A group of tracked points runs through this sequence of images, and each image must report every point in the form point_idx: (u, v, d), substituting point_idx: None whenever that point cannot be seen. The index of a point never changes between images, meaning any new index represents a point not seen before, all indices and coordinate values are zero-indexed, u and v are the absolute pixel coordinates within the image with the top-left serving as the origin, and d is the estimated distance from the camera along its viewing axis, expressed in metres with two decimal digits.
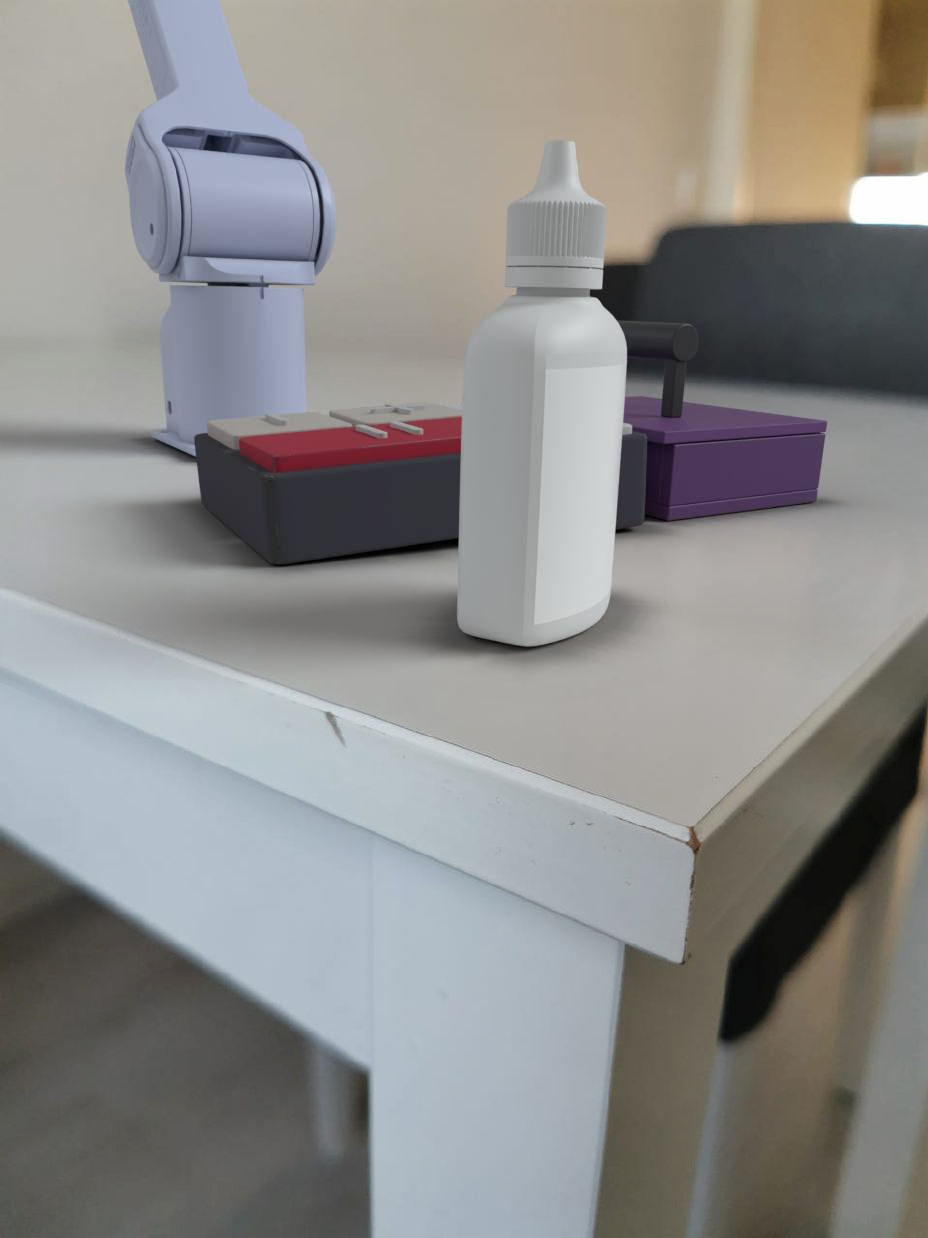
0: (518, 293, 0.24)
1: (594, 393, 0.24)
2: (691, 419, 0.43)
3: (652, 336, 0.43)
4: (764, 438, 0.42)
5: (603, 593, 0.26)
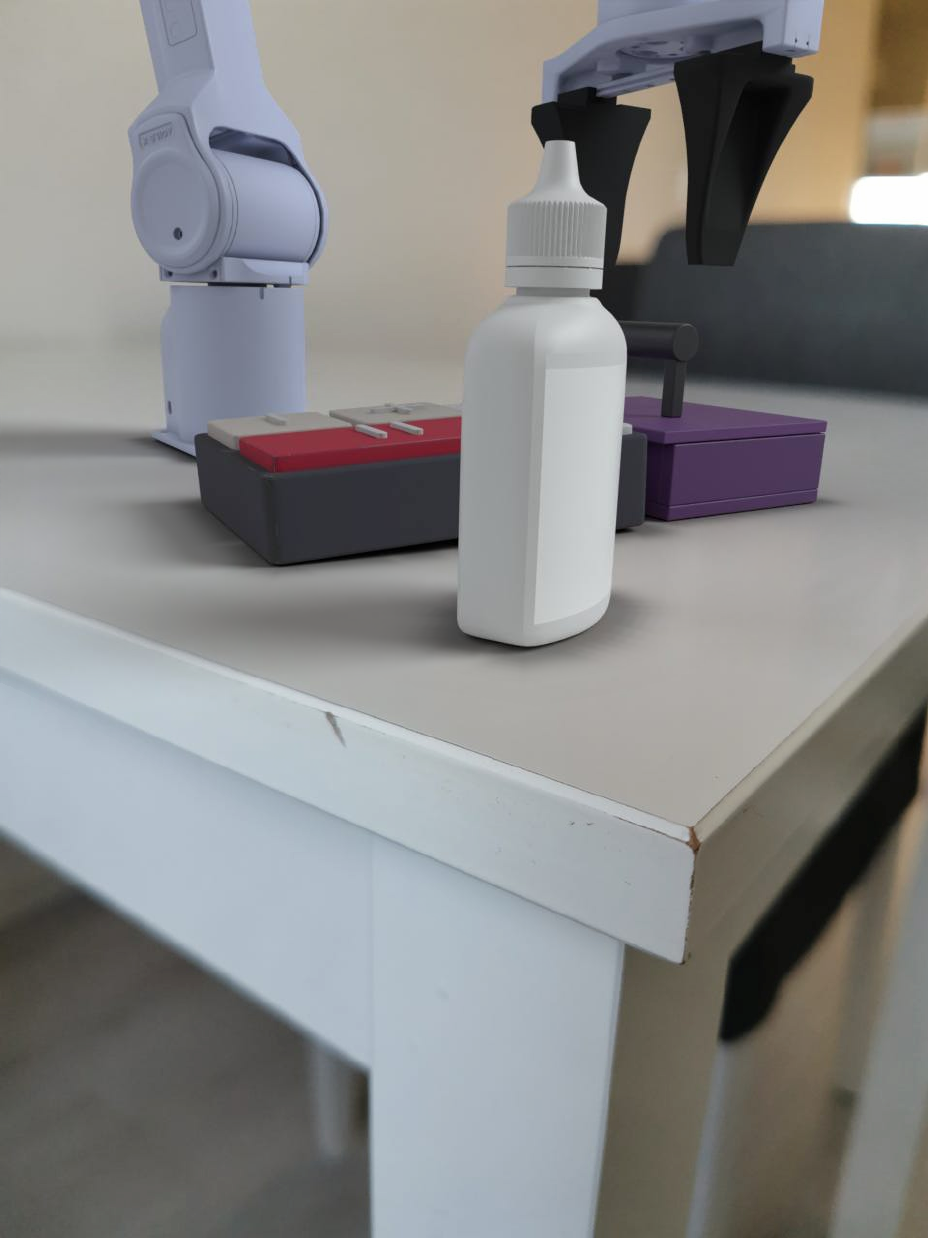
0: (518, 293, 0.24)
1: (594, 393, 0.24)
2: (691, 419, 0.43)
3: (652, 336, 0.43)
4: (764, 438, 0.42)
5: (603, 593, 0.26)
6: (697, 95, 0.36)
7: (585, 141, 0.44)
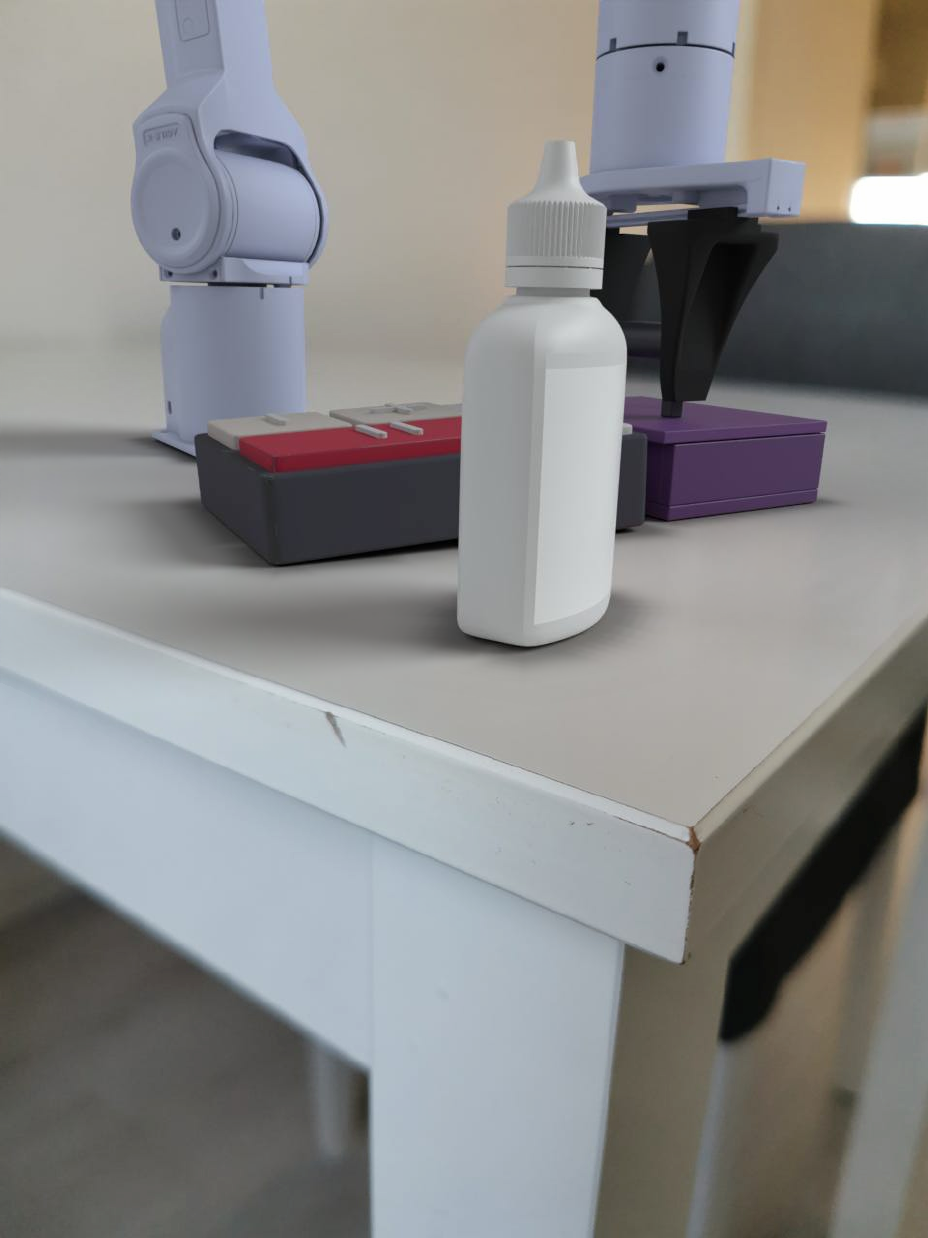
0: (518, 293, 0.24)
1: (594, 393, 0.24)
2: (691, 419, 0.43)
3: (652, 335, 0.43)
4: (764, 438, 0.42)
5: (603, 593, 0.26)
6: (669, 254, 0.39)
7: None
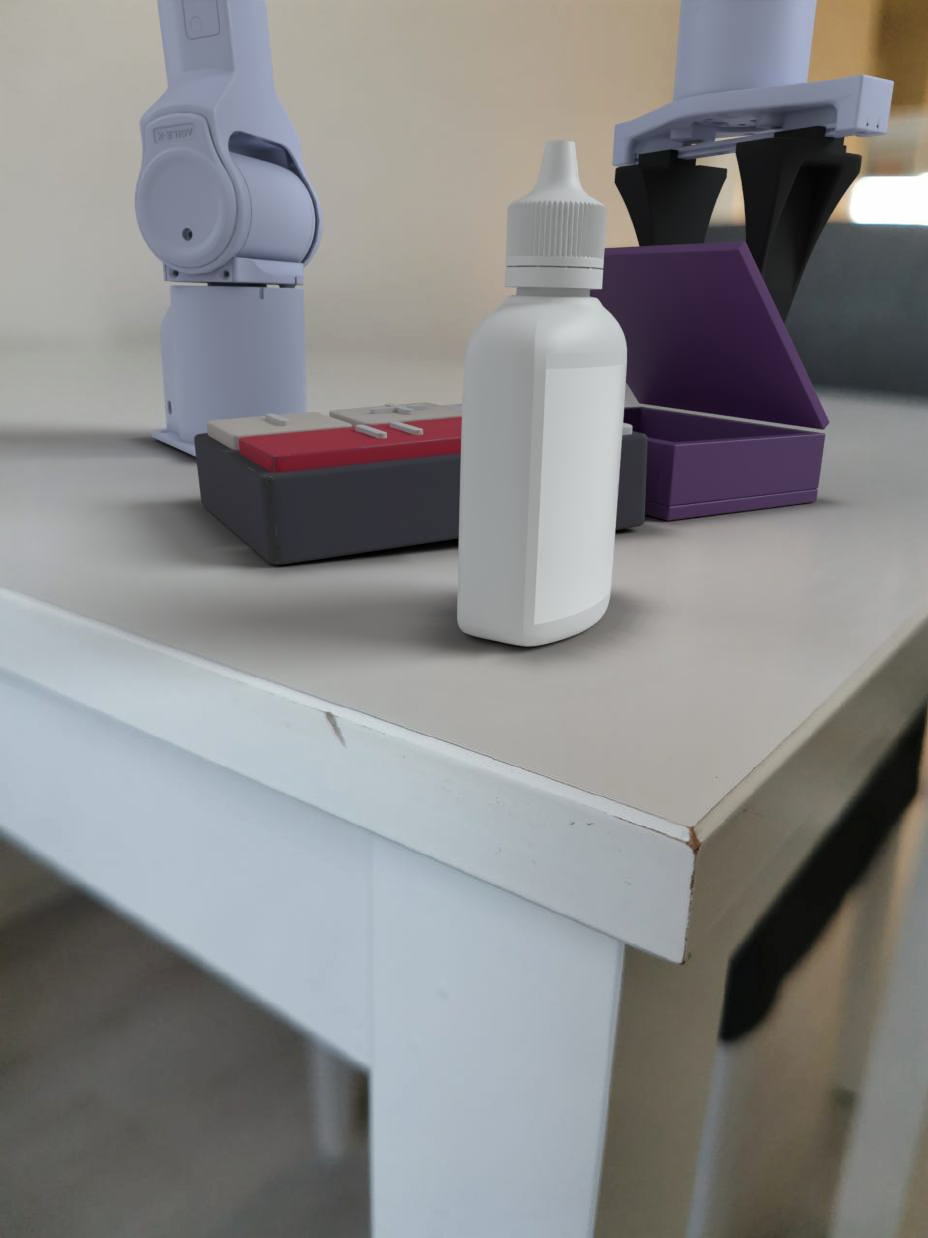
0: (518, 293, 0.24)
1: (594, 393, 0.24)
2: None
3: None
4: (764, 438, 0.42)
5: (603, 593, 0.26)
6: (757, 173, 0.40)
7: (667, 201, 0.46)
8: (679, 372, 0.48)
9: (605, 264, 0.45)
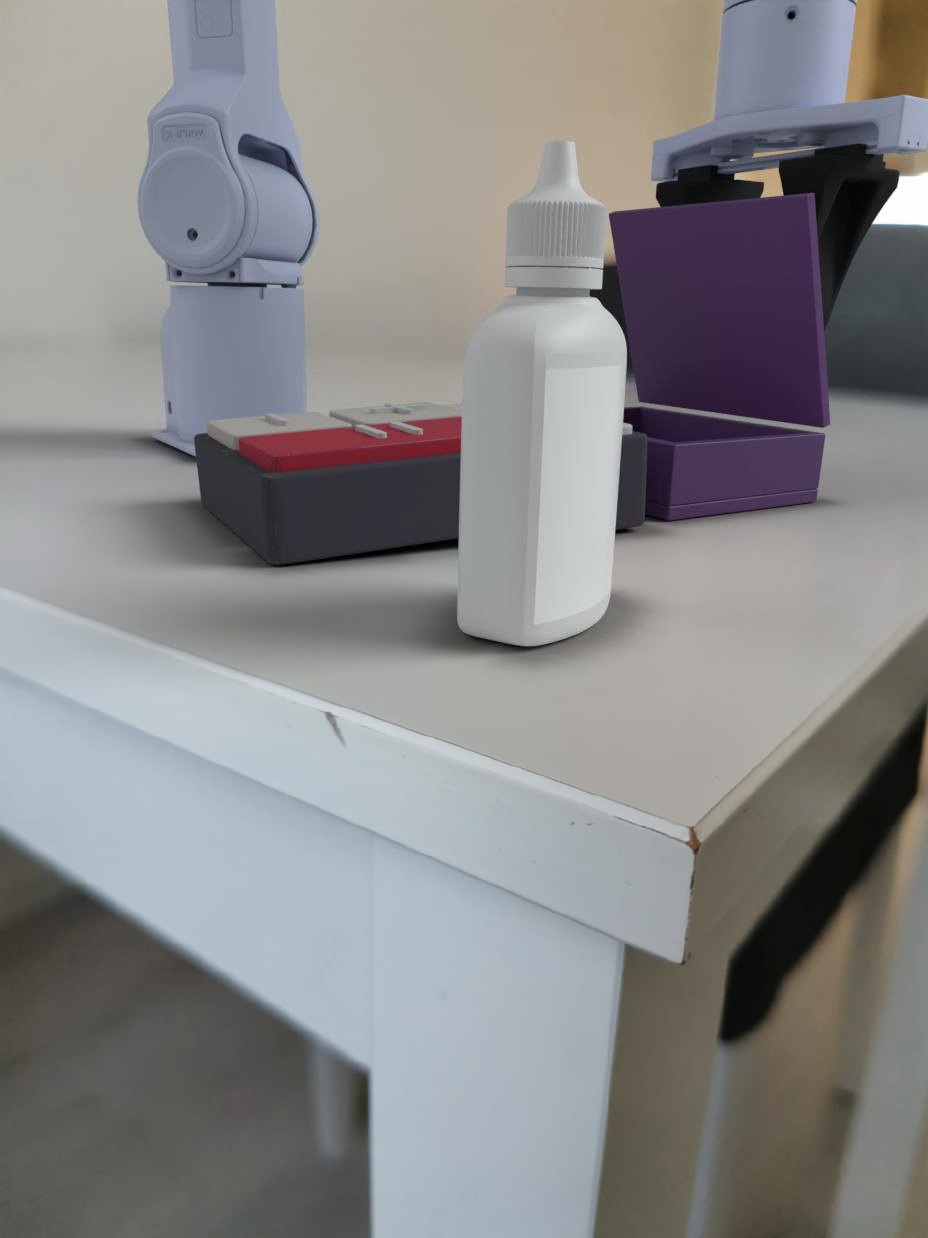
0: (518, 293, 0.24)
1: (594, 393, 0.24)
2: None
3: None
4: (764, 438, 0.42)
5: (603, 593, 0.26)
6: (800, 189, 0.42)
7: None
8: (694, 358, 0.48)
9: (663, 220, 0.46)
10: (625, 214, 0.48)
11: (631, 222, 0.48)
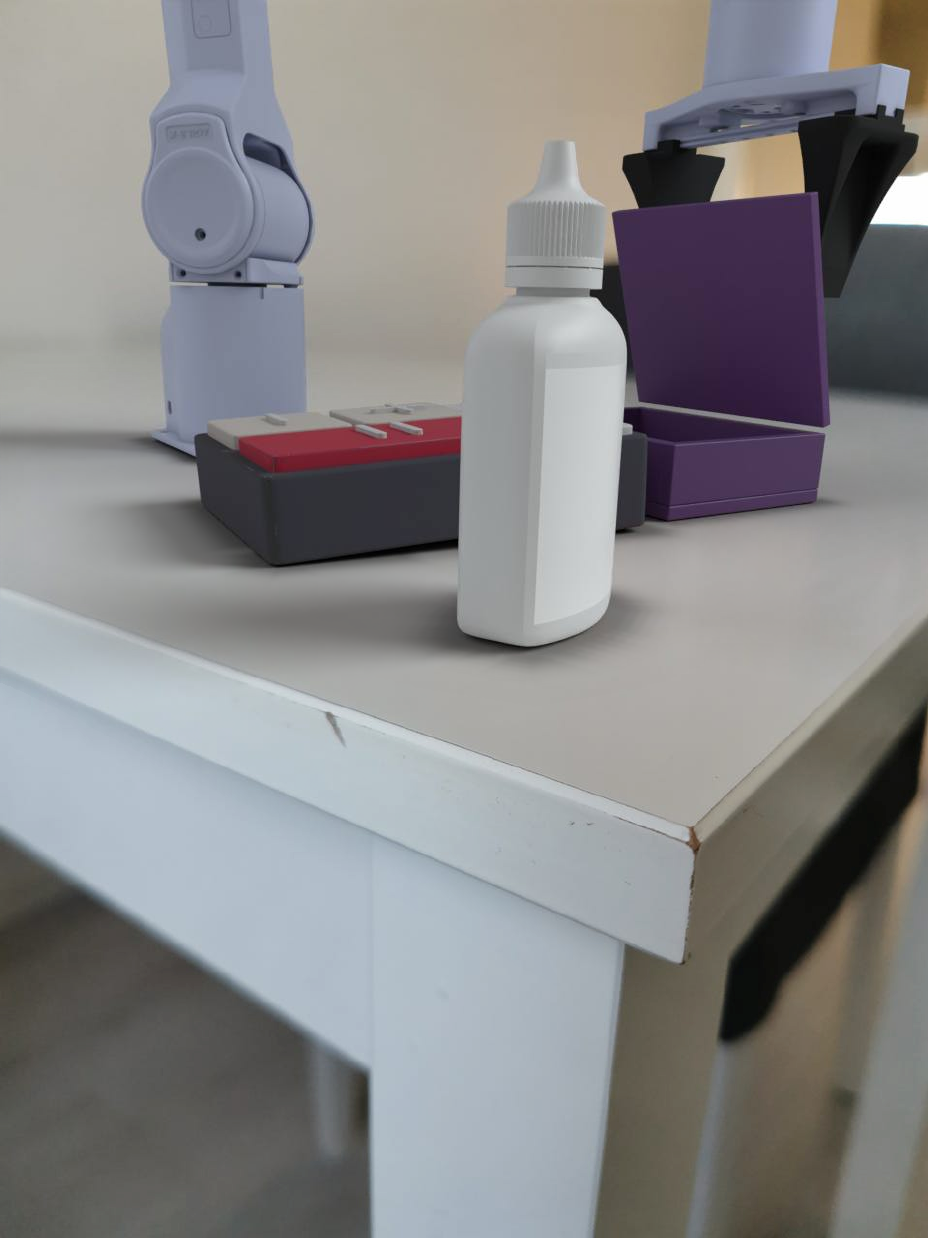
0: (518, 293, 0.24)
1: (594, 393, 0.24)
2: None
3: None
4: (764, 438, 0.42)
5: (603, 593, 0.26)
6: (819, 150, 0.42)
7: (670, 186, 0.51)
8: (695, 357, 0.48)
9: (666, 219, 0.46)
10: (628, 213, 0.48)
11: (634, 221, 0.48)
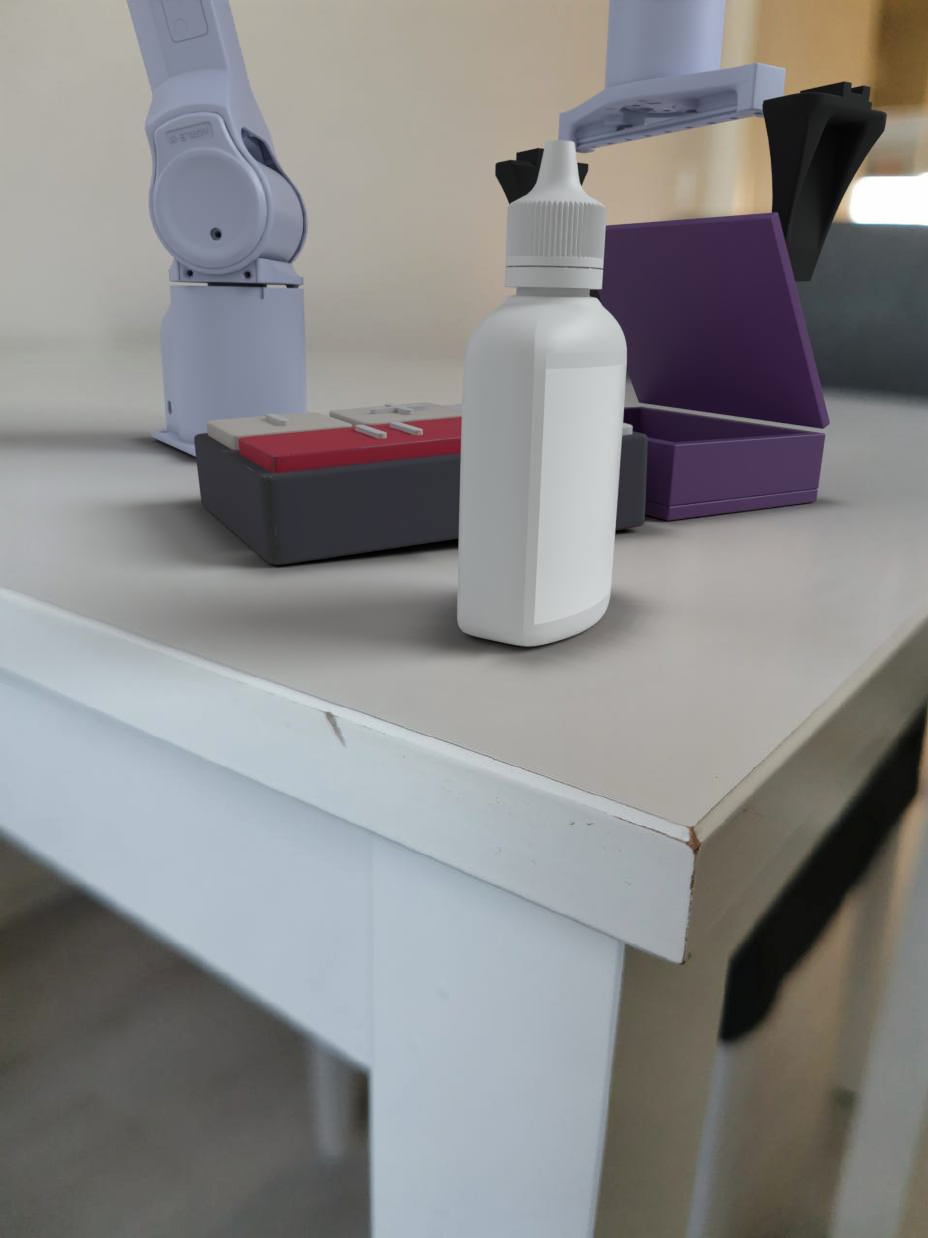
0: (518, 293, 0.24)
1: (594, 393, 0.24)
2: None
3: None
4: (764, 438, 0.42)
5: (603, 593, 0.26)
6: (784, 129, 0.41)
7: None
8: (686, 364, 0.48)
9: (632, 238, 0.45)
10: None
11: None
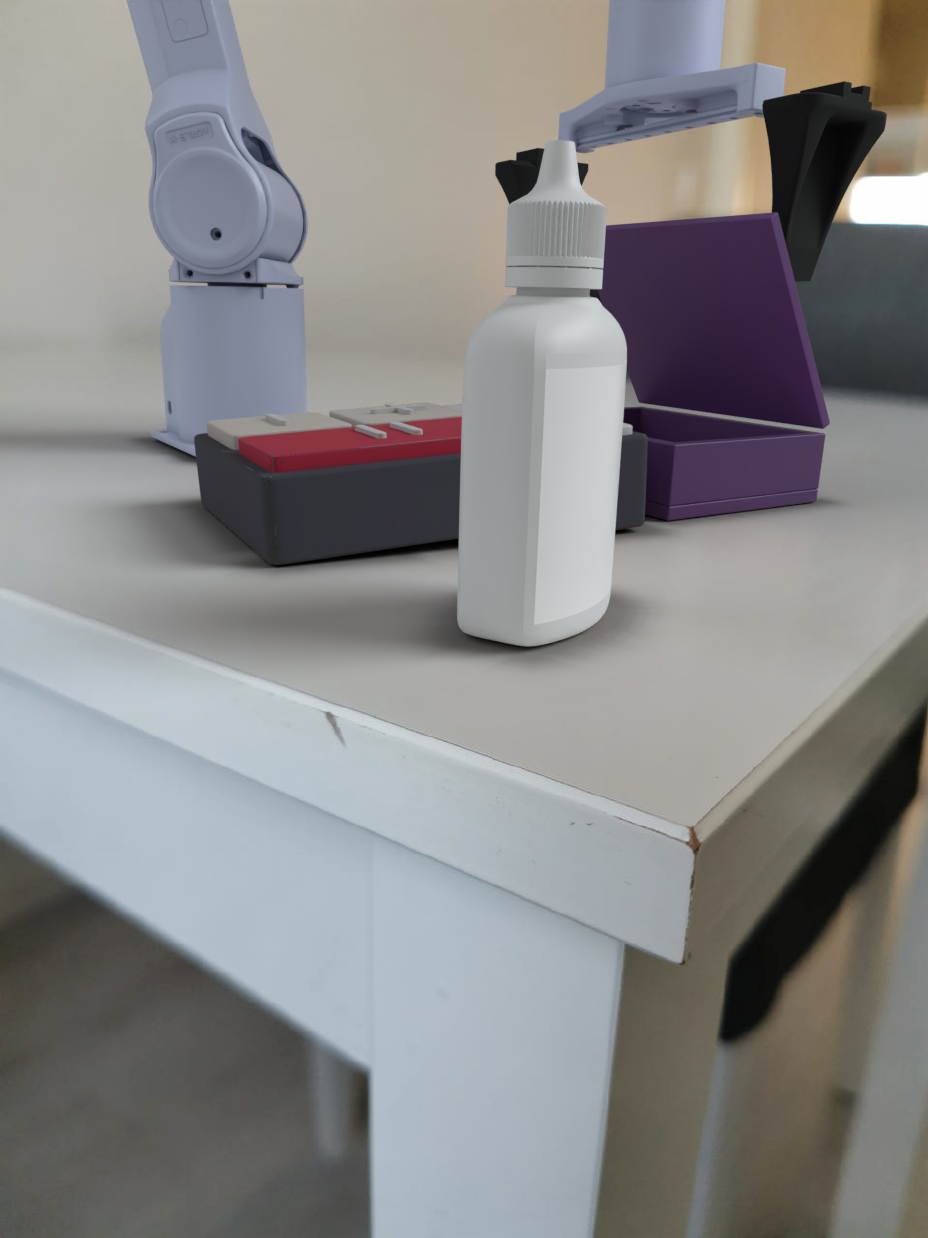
0: (518, 293, 0.24)
1: (594, 393, 0.24)
2: None
3: None
4: (764, 438, 0.42)
5: (603, 593, 0.26)
6: (784, 129, 0.41)
7: None
8: (686, 364, 0.48)
9: (632, 238, 0.45)
10: None
11: None
